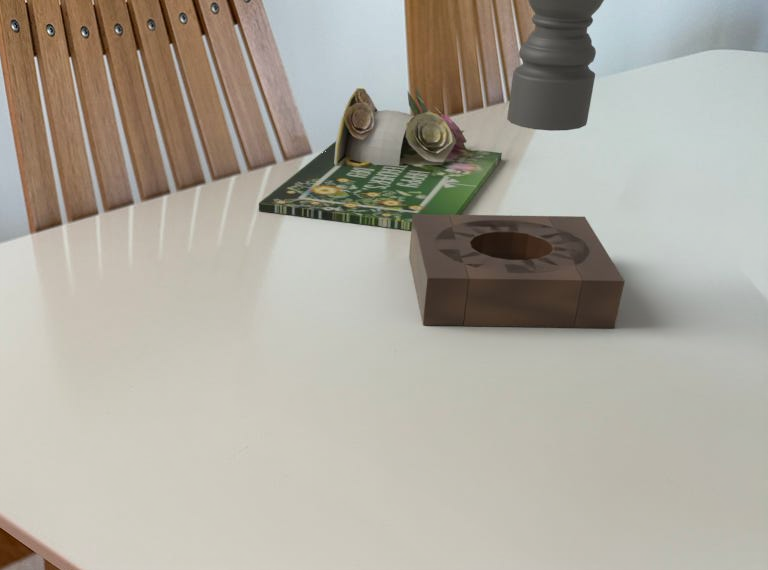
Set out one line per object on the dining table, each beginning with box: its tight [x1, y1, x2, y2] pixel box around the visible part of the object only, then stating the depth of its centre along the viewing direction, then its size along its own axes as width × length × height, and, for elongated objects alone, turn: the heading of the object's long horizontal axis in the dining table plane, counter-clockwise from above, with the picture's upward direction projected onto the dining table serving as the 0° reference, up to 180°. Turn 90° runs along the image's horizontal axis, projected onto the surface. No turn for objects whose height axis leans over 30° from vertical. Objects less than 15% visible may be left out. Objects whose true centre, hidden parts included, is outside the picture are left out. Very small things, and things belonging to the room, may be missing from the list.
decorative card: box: [258, 84, 503, 231], centre depth 116 cm, size 33×8×20 cm
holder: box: [408, 214, 625, 329], centre depth 92 cm, size 16×16×4 cm
